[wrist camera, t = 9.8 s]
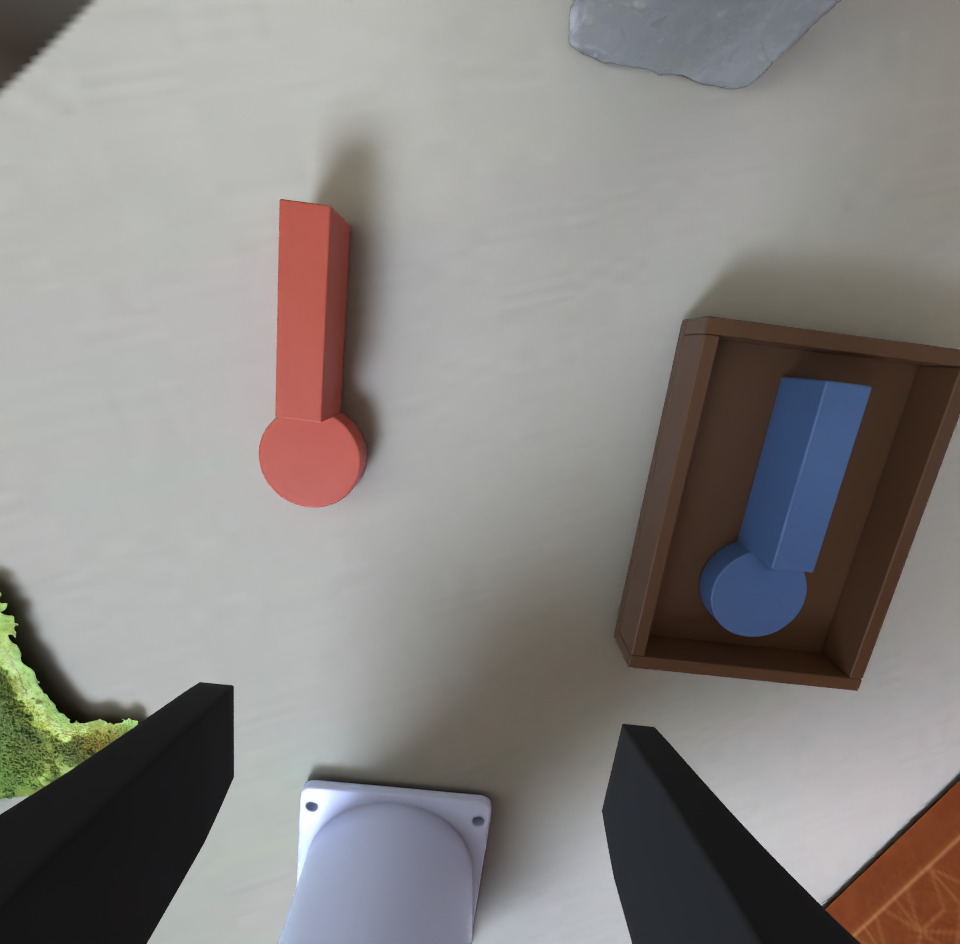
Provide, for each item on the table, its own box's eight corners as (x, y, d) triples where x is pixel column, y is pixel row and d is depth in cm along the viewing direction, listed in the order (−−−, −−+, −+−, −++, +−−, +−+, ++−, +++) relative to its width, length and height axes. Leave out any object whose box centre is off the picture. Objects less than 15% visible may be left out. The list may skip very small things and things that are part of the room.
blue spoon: (776, 626, 19) (814, 662, 16) (689, 617, 18) (716, 652, 16) (850, 384, 16) (906, 390, 14) (752, 372, 16) (794, 376, 14)
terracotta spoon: (364, 504, 18) (348, 525, 16) (269, 493, 18) (241, 513, 15) (382, 229, 15) (367, 210, 13) (274, 214, 15) (241, 193, 13)
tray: (822, 658, 19) (858, 691, 18) (613, 636, 19) (628, 667, 17) (927, 351, 16) (984, 352, 15) (681, 319, 16) (708, 316, 14)
